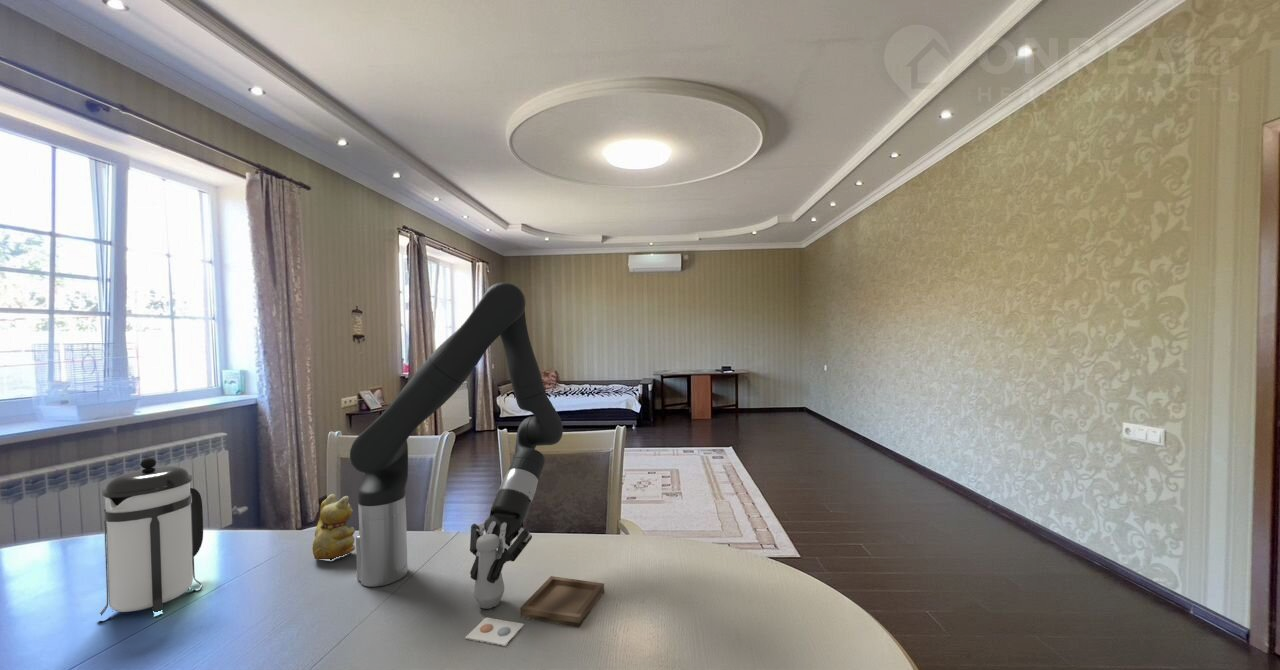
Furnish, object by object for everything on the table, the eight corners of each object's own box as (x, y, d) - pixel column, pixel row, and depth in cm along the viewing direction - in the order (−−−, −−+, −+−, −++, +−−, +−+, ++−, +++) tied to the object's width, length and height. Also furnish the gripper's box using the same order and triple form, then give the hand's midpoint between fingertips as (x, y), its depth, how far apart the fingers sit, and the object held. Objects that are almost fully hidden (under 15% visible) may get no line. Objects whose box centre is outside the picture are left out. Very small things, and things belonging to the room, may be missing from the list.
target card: (465, 638, 83) (465, 636, 83) (486, 618, 89) (486, 616, 89) (505, 646, 81) (505, 643, 81) (524, 625, 86) (524, 622, 86)
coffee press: (213, 599, 99) (208, 454, 98) (96, 637, 87) (90, 472, 87) (204, 572, 110) (200, 443, 110) (100, 602, 99) (95, 458, 99)
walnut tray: (520, 617, 89) (520, 607, 89) (551, 584, 100) (550, 576, 100) (579, 627, 85) (579, 617, 85) (604, 592, 97) (604, 583, 97)
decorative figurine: (363, 552, 119) (361, 491, 119) (334, 568, 111) (332, 503, 111) (330, 549, 121) (328, 490, 121) (301, 564, 113) (298, 501, 113)
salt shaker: (495, 612, 90) (493, 544, 90) (467, 610, 91) (465, 542, 91) (509, 595, 96) (508, 531, 96) (483, 593, 97) (481, 529, 97)
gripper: (479, 484, 102) (441, 569, 91) (537, 489, 98) (506, 578, 87) (494, 500, 108) (460, 582, 96) (550, 506, 103) (522, 592, 92)
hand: (482, 580), depth 91 cm, fingers closed on salt shaker, 3 cm apart
